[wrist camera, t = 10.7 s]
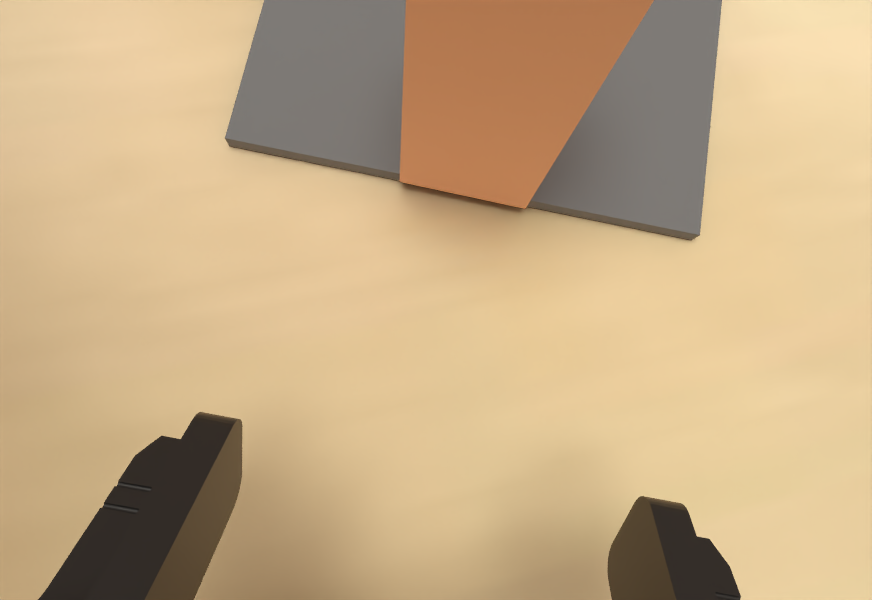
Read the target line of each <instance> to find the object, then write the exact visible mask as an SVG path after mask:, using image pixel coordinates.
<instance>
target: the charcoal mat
mask: <svg viewBox="0 0 872 600" xmlns="http://www.w3.org/2000/svg"><path fill="white" fill-rule="evenodd" d="M721 4H722V0H654V1H653V3H652V4H651V6H650V8H649V9H648V11H647V12H646V14H645V16H644V17H643V19H642V21H641V22H640V24H639V25H638V27H637V29H636V30H635V32H634V34H633V35H632V37H631V38H630V40H629V42H628V43H627V45H626V47H625V48H624V50H623V51H622V53H621V55H620V56H619V58H618V59H617V61H616V63H615V64H614V66H613V68H612V69H611V71H610V72H609V74H608V76H607V77H606V79H605V81H604V82H603V84H602V85H601V87H600V89H599V90H598V92H597V94H596V95H595V97H594V98H593V100H592V102H591V103H590V105H589V106H588V108H587V110H586V111H585V113H584V115H583V116H582V118H581V119H580V121H579V123H578V124H577V126H576V128H575V129H574V131H573V132H572V134H571V136H570V137H569V139H568V141H567V142H566V144H565V145H564V147H563V149H562V150H561V152H560V153H559V155H558V157H557V158H556V160H555V162H554V163H553V165H552V166H551V168H550V170H549V171H548V173H547V175H546V176H545V178H544V179H543V181H542V183H541V184H540V186H539V188H538V189H537V191H536V192H535V194H534V196H533V197H532V199H531V200H530V202H529V204H528V205H527V207H531V208H536V209H541V210H546V211H551V212H556V213H561V214H566V215H571V216H576V217H580V218H585V219H590V220H595V221H600V222H605V223H610V224H615V225H620V226H625V227H630V228H634V229H639V230H644V231H649V232H654V233H659V234H664V235H669V236H674V237H679V238H684V239H688V240H693V239H694V238H696V237H697V236H699V235H700V228H701V217H702V206H703V196H704V185H705V174H706V164H707V153H708V143H709V132H710V121H711V111H712V100H713V89H714V79H715V68H716V57H717V47H718V36H719V26H720V15H721ZM405 12H406V0H264V3H263V7H262V10H261V14H260V17H259V21H258V24H257V28H256V31H255V35H254V38H253V42H252V45H251V49H250V52H249V56H248V59H247V63H246V66H245V70H244V73H243V77H242V80H241V84H240V87H239V91H238V94H237V98H236V101H235V105H234V108H233V112H232V115H231V119H230V122H229V126H228V129H227V133H226V136H225V139H226V141H227V142H228V144H229V146H232V147H237V148H242V149H247V150H252V151H256V152H261V153H266V154H271V155H276V156H281V157H286V158H291V159H296V160H301V161H306V162H310V163H315V164H320V165H325V166H330V167H335V168H340V169H345V170H350V171H355V172H360V173H364V174H369V175H374V176H379V177H384V178H389V179H394V180H399V181H400V153H401V125H402V96H403V68H404V40H405Z"/></svg>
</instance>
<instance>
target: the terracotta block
mask: <svg viewBox="0 0 872 600" xmlns="http://www.w3.org/2000/svg"><path fill="white" fill-rule="evenodd" d="M653 1H654V0H406V12H405V40H404V68H403V96H402V125H401V153H400V181H399V182H403V183H407V184H412V185H417V186H421V187H426V188H431V189H435V190H440V191H445V192H449V193H454V194H458V195H463V196H468V197H472V198H477V199H482V200H486V201H491V202H496V203H500V204H505V205H510V206H514V207H519V208H524V209H526V207H527V205H528V204H529V202H530V200H531V199H532V197H533V196H534V194H535V192H536V191H537V189H538V188H539V186H540V184H541V183H542V181H543V179H544V178H545V176H546V175H547V173H548V171H549V170H550V168H551V166H552V165H553V163H554V162H555V160H556V158H557V157H558V155H559V153H560V152H561V150H562V149H563V147H564V145H565V144H566V142H567V141H568V139H569V137H570V136H571V134H572V132H573V131H574V129H575V128H576V126H577V124H578V123H579V121H580V119H581V118H582V116H583V115H584V113H585V111H586V110H587V108H588V106H589V105H590V103H591V102H592V100H593V98H594V97H595V95H596V94H597V92H598V90H599V89H600V87H601V85H602V84H603V82H604V81H605V79H606V77H607V76H608V74H609V72H610V71H611V69H612V68H613V66H614V64H615V63H616V61H617V59H618V58H619V56H620V55H621V53H622V51H623V50H624V48H625V47H626V45H627V43H628V42H629V40H630V38H631V37H632V35H633V34H634V32H635V30H636V29H637V27H638V25H639V24H640V22H641V21H642V19H643V17H644V16H645V14H646V12H647V11H648V9H649V8H650V6H651V4H652V3H653Z"/></svg>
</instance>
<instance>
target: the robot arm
mask: <svg viewBox="0 0 872 600" xmlns="http://www.w3.org/2000/svg"><path fill="white" fill-rule="evenodd" d="M241 478H242V422H241V420H240V419H235V418H229V417H224V416H219V415H213V414H208V413H203V412H199V413H198V414H196V416H195V417H194V418H193V420H192V421H191V423H190V425H189V426H188V428H187V430H186V431H185V433H184V435H183V436H182V438H181V439H176V438H171V437H165V436H161V437H159V438H158V439H157V440H155V441H154V442H153V443H151V444H150V445H149V446H147V447H146V448H145V449H143V450H142V451H141V452H139V453H138V454H137V455H135V457H134V458H133V460H132V461H131V463H130V464H129V466H128V467H127V469H126V470H125V472H124V473H123V475H122V476H121V478H120V479H119V481H118V485H117V486H115V487H114V488H113V490H112V491H111V493H110V494H109V496H108V497H107V499H106V500H105V502H104V506H103V508H100V509H99V511H98V512H97V514H96V515H95V517H94V518H93V520H92V521H91V523H90V524H89V526H88V527H87V529H86V530H85V532H84V533H83V535H82V537H81V538H80V540H79V541H78V543H77V544H76V546H75V547H74V549H73V550H72V552H71V553H70V555H69V556H68V558H67V559H66V561H65V562H64V564H63V565H62V567H61V568H60V570H59V571H58V573H57V574H56V576H55V577H54V579H53V580H52V582H51V583H50V585H49V586H48V588H47V589H46V590H45V592H44V593H43V594H42V596H41V597H40V598H39V599H38V600H194V598H195V595H196V593H197V591H198V588H199V586H200V584H201V582H202V579H203V577H204V575H205V572H206V570H207V568H208V566H209V563H210V561H211V559H212V556H213V554H214V552H215V550H216V547H217V545H218V543H219V540H220V538H221V536H222V534H223V531H224V529H225V527H226V524H227V522H228V520H229V518H230V515H231V513H232V511H233V508H234V506H235V503H236V500H237V497H238V493H239V489H240V484H241ZM608 580H609V586H610V591H611V597H612V600H740V597H741V596H740V593H739V590H738V588H737V585H736V582H735V579H734V577H733V574H732V571H731V569H730V566H729V565H728V564H727V562H726V561H725V560H724V558H723V557H722V556H721V554H720V553H719V551H718V550H717V549H716V547H715V546H714V545H713V543H712V542H711V541H710V539H707V538H702V537H697V536H696V533H695V530H694V527H693V524H692V521H691V518H690V515H689V513H688V510H687V509H686V507H685V506H684V505H683V504H681V503H676V502H671V501H665V500H660V499H655V498H649V497H644V496H641V497H639V498H638V499H637V500H636V502H635V503H634V505H633V507H632V509H631V510H630V512H629V514H628V516H627V518H626V520H625V521H624V523H623V525H622V527H621V529H620V530H619V532H618V534H617V536H616V538H615V539H614V541H613V543H612V545H611V548H610V552H609V557H608Z"/></svg>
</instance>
